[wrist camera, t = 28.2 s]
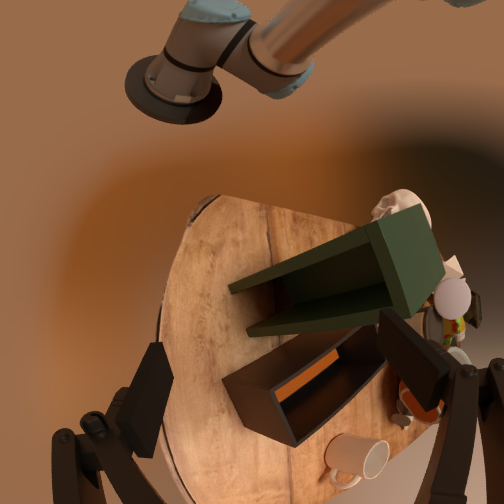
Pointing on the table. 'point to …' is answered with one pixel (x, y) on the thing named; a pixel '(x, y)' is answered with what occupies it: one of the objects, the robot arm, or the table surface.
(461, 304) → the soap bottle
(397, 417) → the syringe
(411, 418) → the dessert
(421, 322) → the coffee can
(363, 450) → the mug
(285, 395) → the orange rectangular bar
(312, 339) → the black open rectangular box
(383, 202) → the white skull
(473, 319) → the toy tank
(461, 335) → the pill bottle
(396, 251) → the stand
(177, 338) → the table surface
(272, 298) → the table surface
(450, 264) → the white folded paper piece
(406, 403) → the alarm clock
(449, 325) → the taco
